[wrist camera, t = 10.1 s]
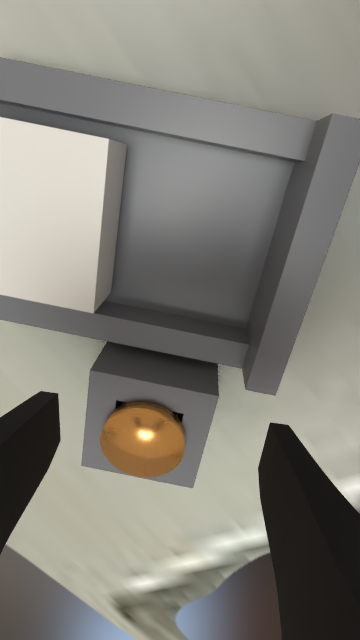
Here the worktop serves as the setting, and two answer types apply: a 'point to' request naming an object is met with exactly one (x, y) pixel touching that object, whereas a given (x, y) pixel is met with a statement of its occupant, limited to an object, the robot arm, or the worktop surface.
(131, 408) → the orange round piece
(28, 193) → the white blue stepped block
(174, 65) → the worktop surface
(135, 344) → the housing
